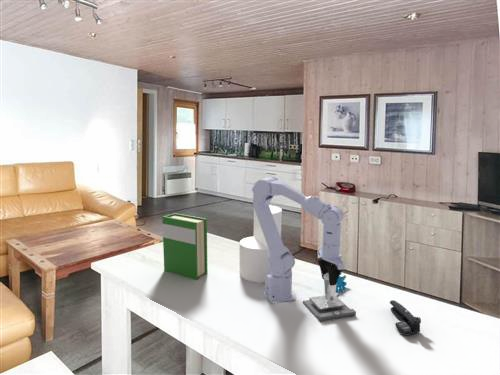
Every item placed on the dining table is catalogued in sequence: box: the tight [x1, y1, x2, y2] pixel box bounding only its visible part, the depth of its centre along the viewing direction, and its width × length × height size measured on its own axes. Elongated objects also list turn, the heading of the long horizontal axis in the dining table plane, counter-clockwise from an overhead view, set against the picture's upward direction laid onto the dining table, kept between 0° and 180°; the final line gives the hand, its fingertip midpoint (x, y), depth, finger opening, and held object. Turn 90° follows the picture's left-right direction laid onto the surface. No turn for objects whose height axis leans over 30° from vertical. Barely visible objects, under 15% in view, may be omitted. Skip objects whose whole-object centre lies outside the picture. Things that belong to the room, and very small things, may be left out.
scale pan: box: [308, 294, 347, 310], centre depth 123 cm, size 10×8×1 cm
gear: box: [336, 272, 347, 293], centre depth 139 cm, size 11×6×10 cm
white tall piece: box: [239, 204, 283, 283], centre depth 149 cm, size 17×17×28 cm
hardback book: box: [162, 212, 208, 281], centre depth 150 cm, size 18×7×24 cm, turn 59°
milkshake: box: [323, 273, 337, 301], centre depth 121 cm, size 4×5×10 cm
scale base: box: [302, 299, 357, 323], centre depth 122 cm, size 13×13×2 cm
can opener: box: [389, 299, 422, 336], centre depth 114 cm, size 18×7×6 cm, turn 178°
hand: (329, 281), depth 121 cm, fingers closed on milkshake, 4 cm apart
